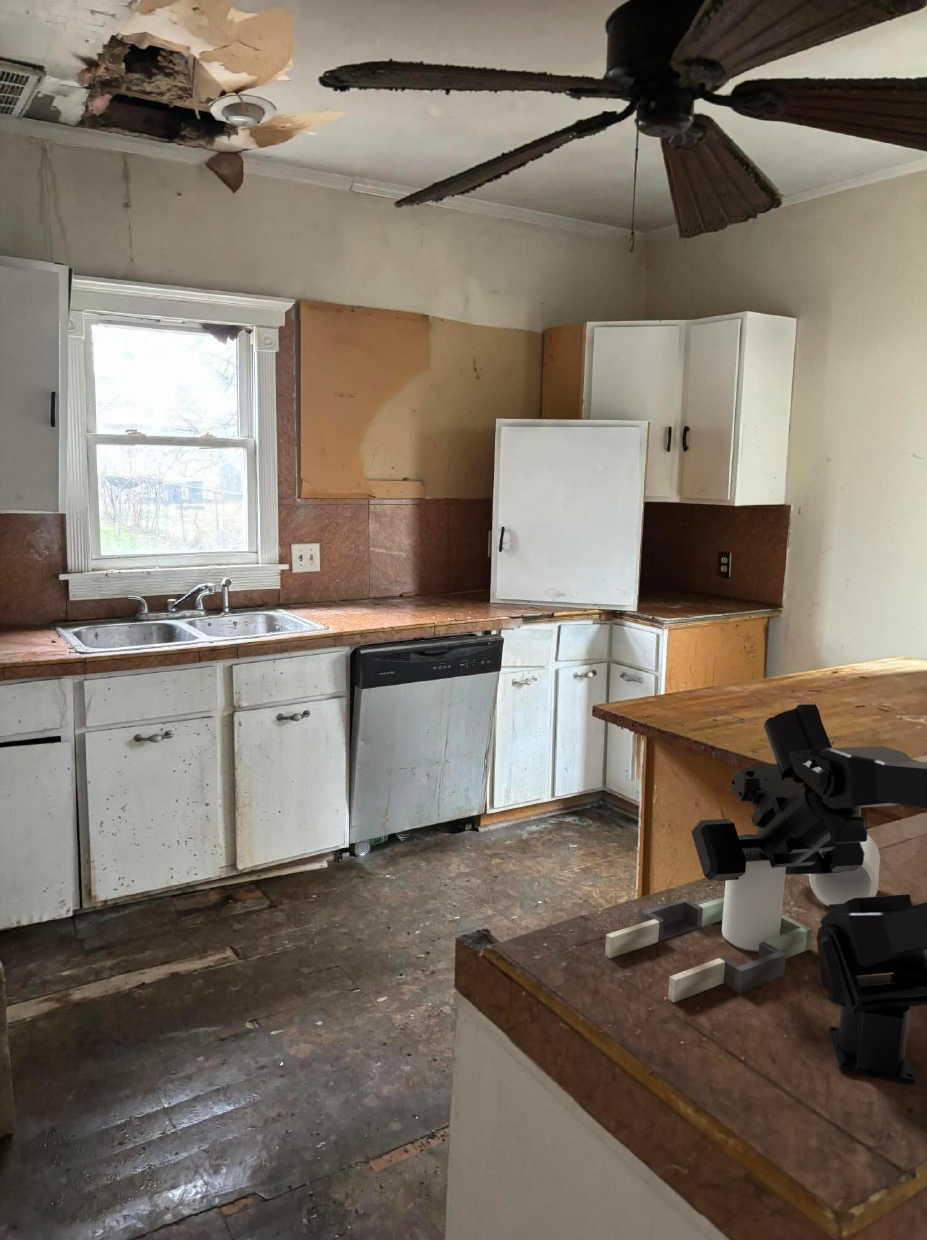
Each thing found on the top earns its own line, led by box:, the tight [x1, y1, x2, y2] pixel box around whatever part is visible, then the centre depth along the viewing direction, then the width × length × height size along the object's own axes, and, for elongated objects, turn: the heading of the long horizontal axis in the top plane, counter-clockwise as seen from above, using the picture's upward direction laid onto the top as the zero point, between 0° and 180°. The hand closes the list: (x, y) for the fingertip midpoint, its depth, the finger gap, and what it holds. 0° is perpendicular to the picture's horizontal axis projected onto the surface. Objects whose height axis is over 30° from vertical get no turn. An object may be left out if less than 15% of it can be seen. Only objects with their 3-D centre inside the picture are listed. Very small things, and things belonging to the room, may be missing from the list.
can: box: [721, 833, 786, 953], centre depth 103 cm, size 6×6×12 cm
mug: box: [804, 834, 881, 908], centre depth 117 cm, size 12×10×8 cm
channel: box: [604, 896, 813, 1004], centre depth 101 cm, size 22×15×2 cm
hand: (746, 872), depth 105 cm, fingers open, 9 cm apart
